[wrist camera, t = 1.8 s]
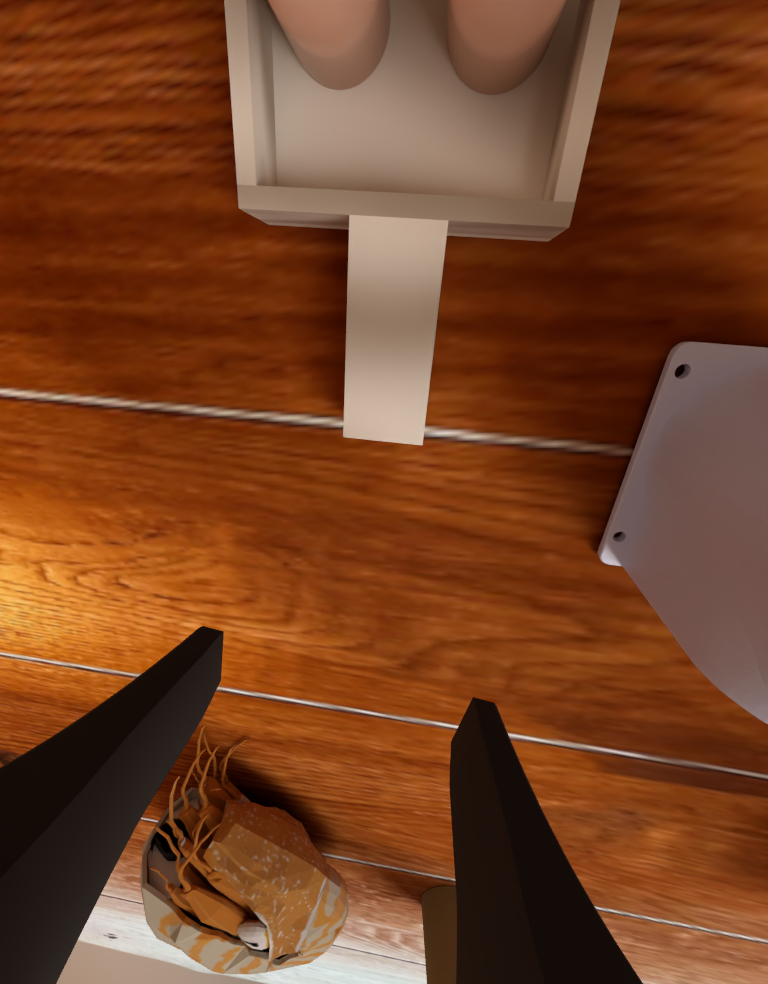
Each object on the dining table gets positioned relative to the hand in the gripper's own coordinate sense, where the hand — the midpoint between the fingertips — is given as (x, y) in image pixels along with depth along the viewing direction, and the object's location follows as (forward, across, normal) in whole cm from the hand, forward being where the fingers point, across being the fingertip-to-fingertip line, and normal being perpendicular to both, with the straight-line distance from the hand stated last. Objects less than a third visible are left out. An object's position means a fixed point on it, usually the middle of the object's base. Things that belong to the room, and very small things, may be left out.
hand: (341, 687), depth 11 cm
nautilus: (+9, +4, +27) cm, 29 cm away
